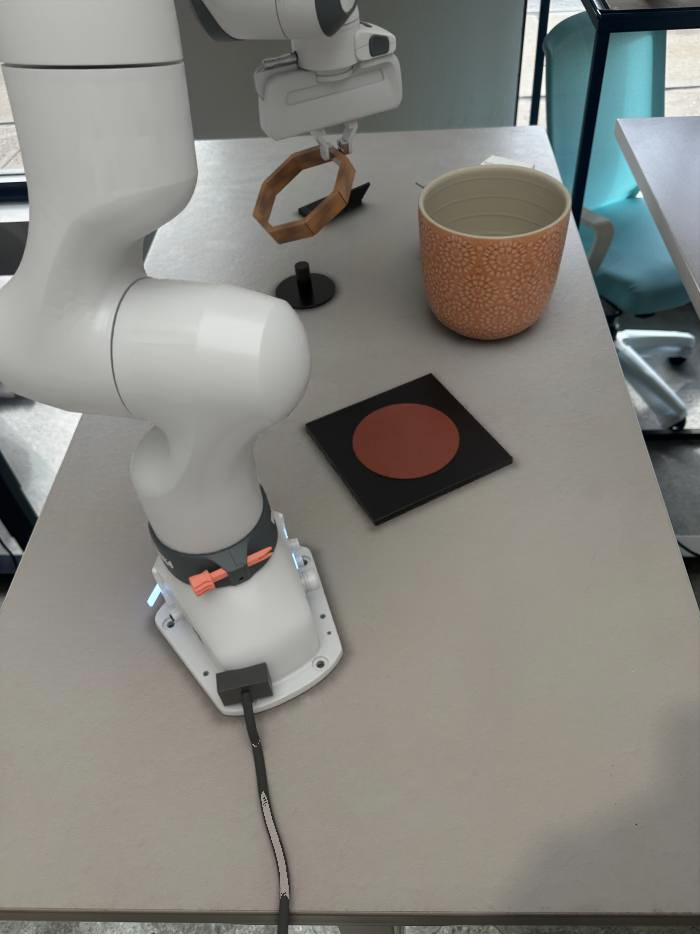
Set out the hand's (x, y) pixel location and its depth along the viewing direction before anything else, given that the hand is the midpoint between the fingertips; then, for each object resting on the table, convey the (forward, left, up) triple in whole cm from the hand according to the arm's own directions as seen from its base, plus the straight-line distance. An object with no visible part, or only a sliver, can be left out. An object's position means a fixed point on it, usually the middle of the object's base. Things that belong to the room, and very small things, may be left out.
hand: (336, 155), depth 103 cm
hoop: (0, +5, -5) cm, 7 cm away
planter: (-18, -15, -22) cm, 32 cm away
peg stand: (+4, +6, -22) cm, 23 cm away
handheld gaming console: (+25, -10, -22) cm, 35 cm away
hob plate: (-36, +10, -22) cm, 43 cm away
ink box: (+2, -32, -22) cm, 39 cm away
